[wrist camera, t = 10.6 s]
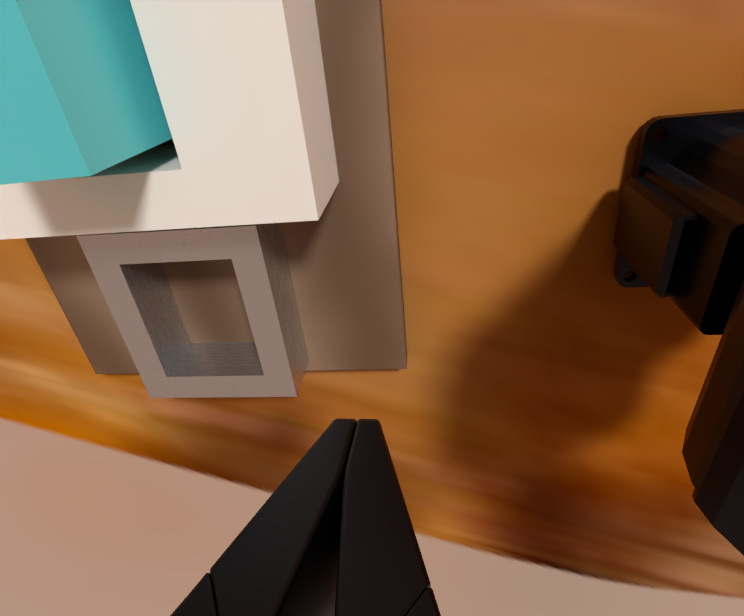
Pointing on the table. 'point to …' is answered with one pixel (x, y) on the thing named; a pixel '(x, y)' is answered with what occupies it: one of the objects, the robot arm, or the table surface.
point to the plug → (73, 89)
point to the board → (291, 235)
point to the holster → (166, 327)
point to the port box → (208, 129)
